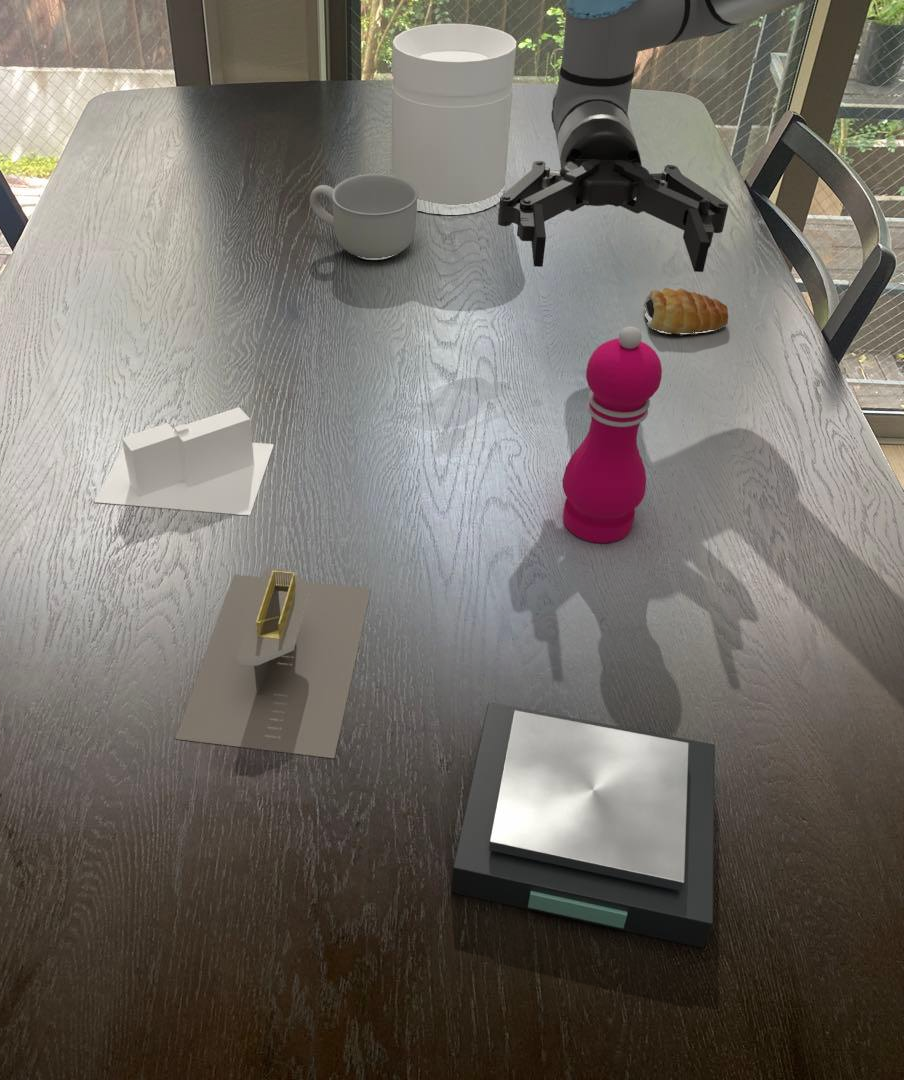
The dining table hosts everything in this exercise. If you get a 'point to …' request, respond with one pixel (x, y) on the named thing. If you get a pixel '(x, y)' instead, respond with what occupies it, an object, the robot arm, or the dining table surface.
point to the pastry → (684, 311)
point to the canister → (452, 110)
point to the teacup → (370, 213)
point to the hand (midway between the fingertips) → (620, 254)
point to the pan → (594, 800)
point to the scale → (578, 889)
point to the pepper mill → (611, 440)
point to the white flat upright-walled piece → (190, 466)
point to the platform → (278, 666)
